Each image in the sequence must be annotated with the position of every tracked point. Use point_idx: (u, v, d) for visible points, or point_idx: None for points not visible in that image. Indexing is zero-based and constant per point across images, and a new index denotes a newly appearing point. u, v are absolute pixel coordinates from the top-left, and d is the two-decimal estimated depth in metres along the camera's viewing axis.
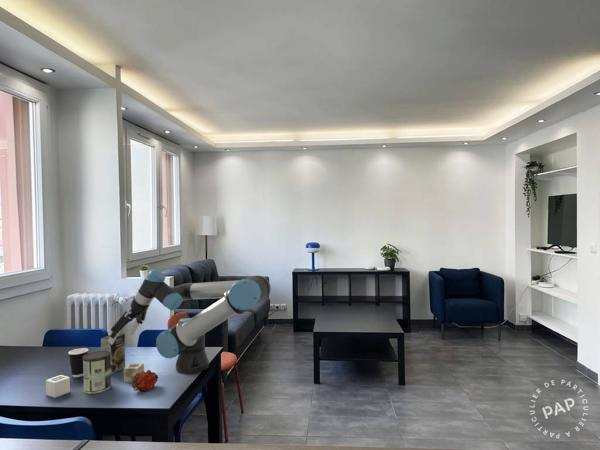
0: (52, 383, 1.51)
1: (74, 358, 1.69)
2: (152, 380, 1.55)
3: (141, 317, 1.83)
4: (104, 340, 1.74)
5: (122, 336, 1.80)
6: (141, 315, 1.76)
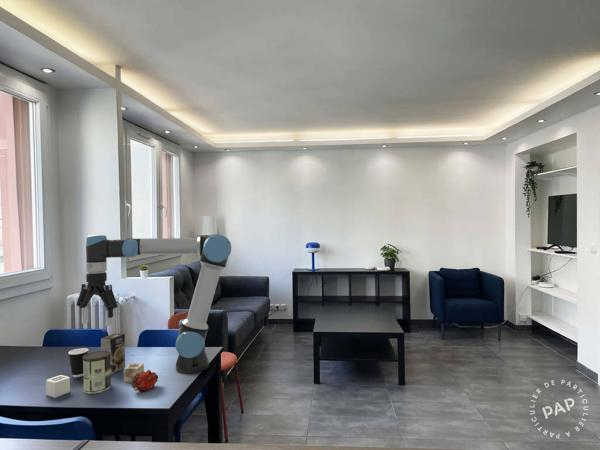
0: (52, 383, 1.51)
1: (74, 358, 1.69)
2: (152, 380, 1.55)
3: (79, 302, 1.61)
4: (104, 340, 1.74)
5: (122, 336, 1.80)
6: None
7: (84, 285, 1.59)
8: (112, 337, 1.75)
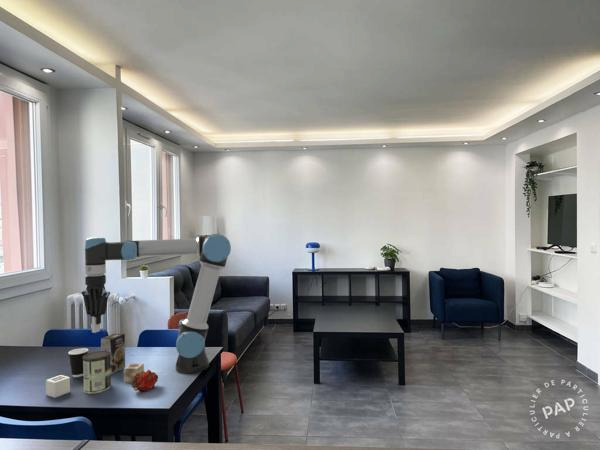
0: (52, 383, 1.51)
1: (74, 358, 1.69)
2: (152, 380, 1.55)
3: (89, 311, 1.59)
4: (104, 340, 1.74)
5: (122, 336, 1.80)
6: None
7: (84, 292, 1.59)
8: (112, 337, 1.75)
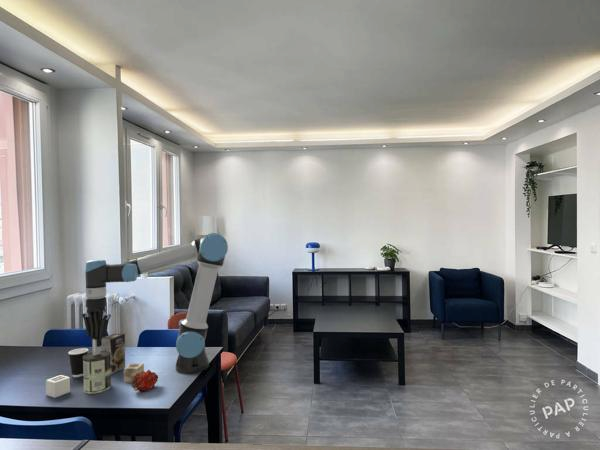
0: (52, 383, 1.51)
1: (74, 358, 1.69)
2: (152, 380, 1.55)
3: (89, 333, 1.59)
4: (104, 340, 1.74)
5: (122, 336, 1.80)
6: None
7: (84, 314, 1.59)
8: (112, 337, 1.75)
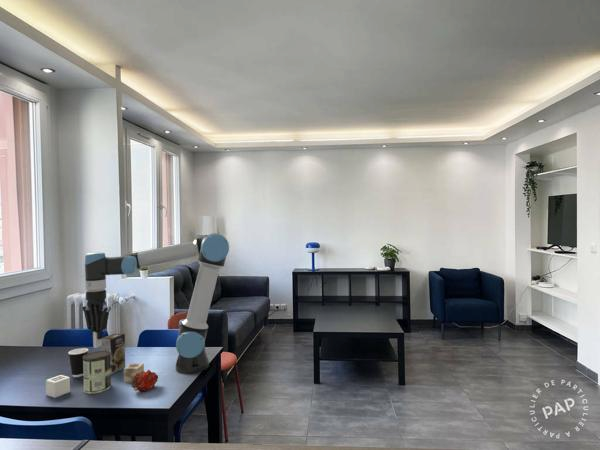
0: (52, 383, 1.51)
1: (74, 358, 1.69)
2: (152, 380, 1.55)
3: (90, 326, 1.59)
4: (104, 340, 1.74)
5: (122, 336, 1.80)
6: None
7: (85, 307, 1.59)
8: (112, 337, 1.75)
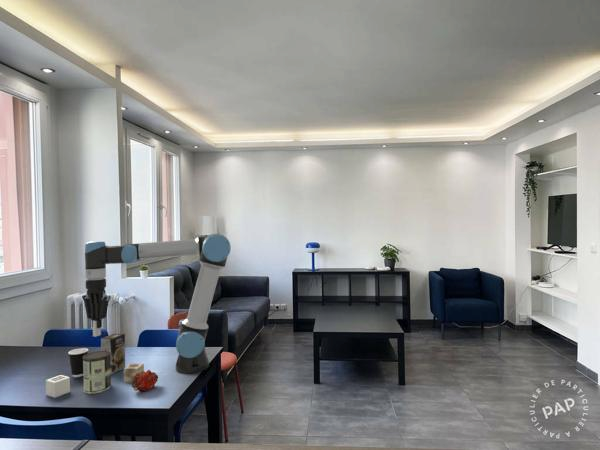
0: (52, 383, 1.51)
1: (74, 358, 1.69)
2: (152, 380, 1.55)
3: (89, 314, 1.59)
4: (104, 340, 1.74)
5: (122, 336, 1.80)
6: None
7: (84, 296, 1.59)
8: (112, 337, 1.75)
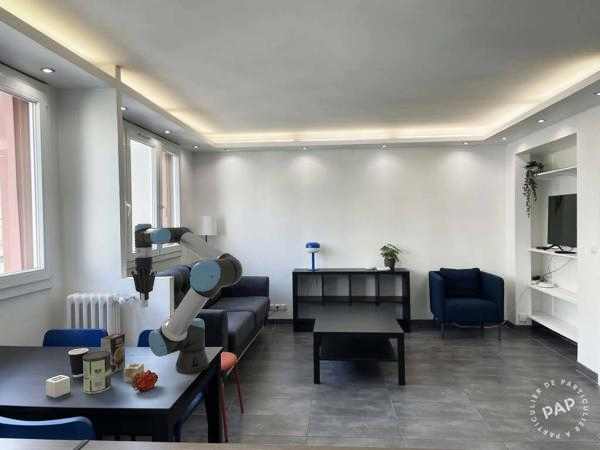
0: (52, 383, 1.51)
1: (74, 358, 1.69)
2: (152, 380, 1.55)
3: (138, 288, 1.79)
4: (104, 340, 1.74)
5: (122, 336, 1.80)
6: (143, 275, 1.80)
7: (133, 271, 1.79)
8: (112, 337, 1.75)
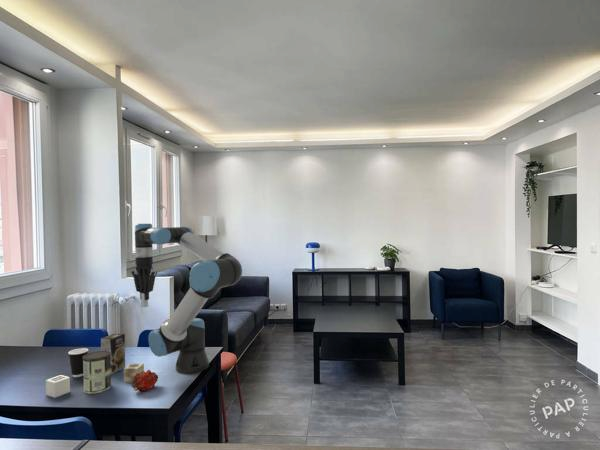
0: (52, 383, 1.51)
1: (74, 358, 1.69)
2: (152, 380, 1.55)
3: None
4: (104, 340, 1.74)
5: (122, 336, 1.80)
6: None
7: (133, 271, 1.79)
8: (112, 337, 1.75)
